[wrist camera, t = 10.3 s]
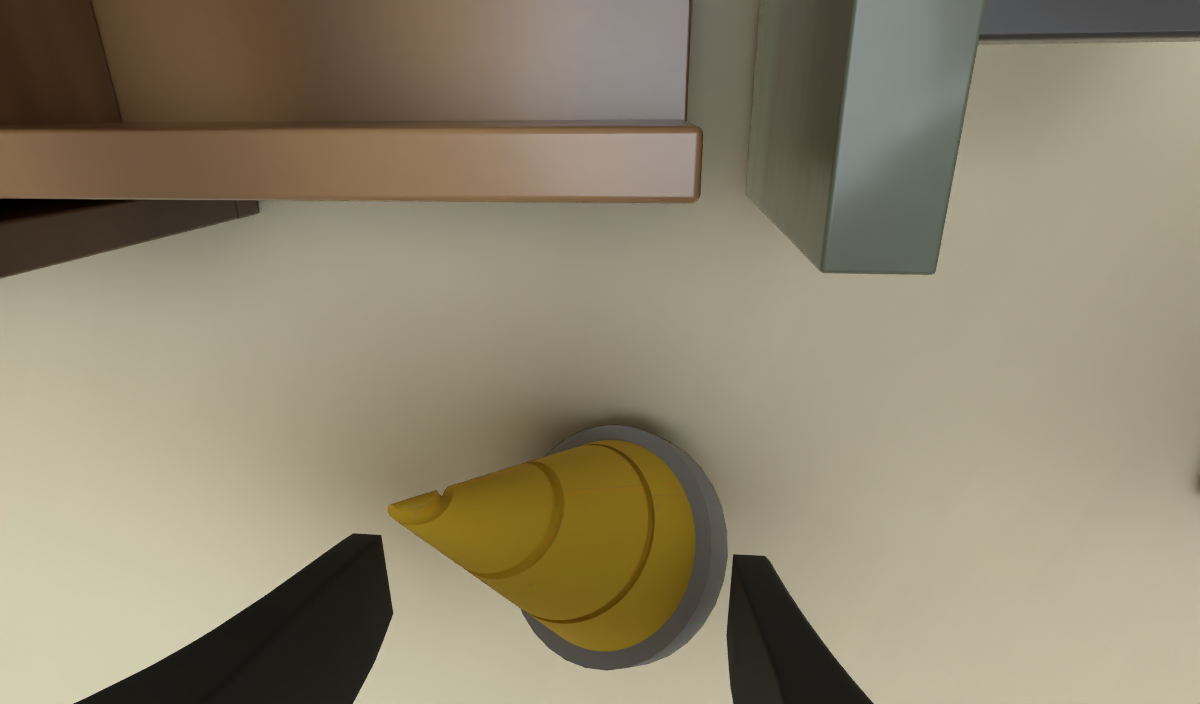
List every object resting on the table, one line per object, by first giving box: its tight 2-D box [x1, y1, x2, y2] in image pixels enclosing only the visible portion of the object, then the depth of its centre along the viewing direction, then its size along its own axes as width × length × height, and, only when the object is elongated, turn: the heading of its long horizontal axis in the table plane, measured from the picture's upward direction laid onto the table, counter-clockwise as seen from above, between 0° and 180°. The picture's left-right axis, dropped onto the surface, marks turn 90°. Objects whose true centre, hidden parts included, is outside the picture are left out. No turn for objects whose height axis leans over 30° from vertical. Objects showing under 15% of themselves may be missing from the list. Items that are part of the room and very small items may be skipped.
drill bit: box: [388, 425, 728, 670], centre depth 13 cm, size 5×5×10 cm
